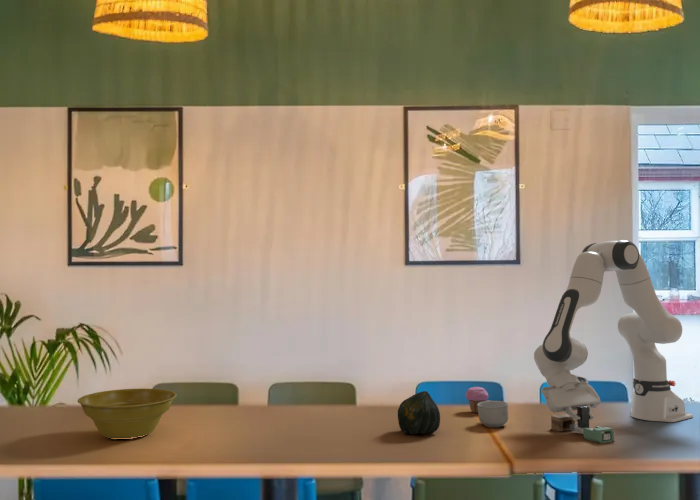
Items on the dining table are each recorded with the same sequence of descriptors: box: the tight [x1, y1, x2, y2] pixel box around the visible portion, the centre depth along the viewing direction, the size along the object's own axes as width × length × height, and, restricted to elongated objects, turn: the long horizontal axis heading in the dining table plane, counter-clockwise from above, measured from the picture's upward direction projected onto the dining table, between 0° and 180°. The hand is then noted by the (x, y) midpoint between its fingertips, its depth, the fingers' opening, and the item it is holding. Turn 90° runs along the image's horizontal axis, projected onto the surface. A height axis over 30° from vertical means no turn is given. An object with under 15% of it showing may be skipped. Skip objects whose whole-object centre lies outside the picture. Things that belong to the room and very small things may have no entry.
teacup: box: [477, 399, 509, 428], centre depth 230 cm, size 14×11×8 cm
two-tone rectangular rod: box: [569, 406, 610, 440], centre depth 211 cm, size 3×15×9 cm, turn 23°
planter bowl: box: [77, 388, 177, 438], centre depth 219 cm, size 32×32×13 cm
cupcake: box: [465, 386, 489, 414], centre depth 251 cm, size 9×9×10 cm
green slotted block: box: [583, 425, 615, 444], centre depth 207 cm, size 6×7×4 cm
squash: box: [397, 390, 441, 436], centre depth 219 cm, size 14×15×15 cm
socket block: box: [550, 413, 576, 432], centre depth 222 cm, size 7×4×4 cm, turn 113°
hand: (584, 419), depth 213 cm, fingers open, 4 cm apart
